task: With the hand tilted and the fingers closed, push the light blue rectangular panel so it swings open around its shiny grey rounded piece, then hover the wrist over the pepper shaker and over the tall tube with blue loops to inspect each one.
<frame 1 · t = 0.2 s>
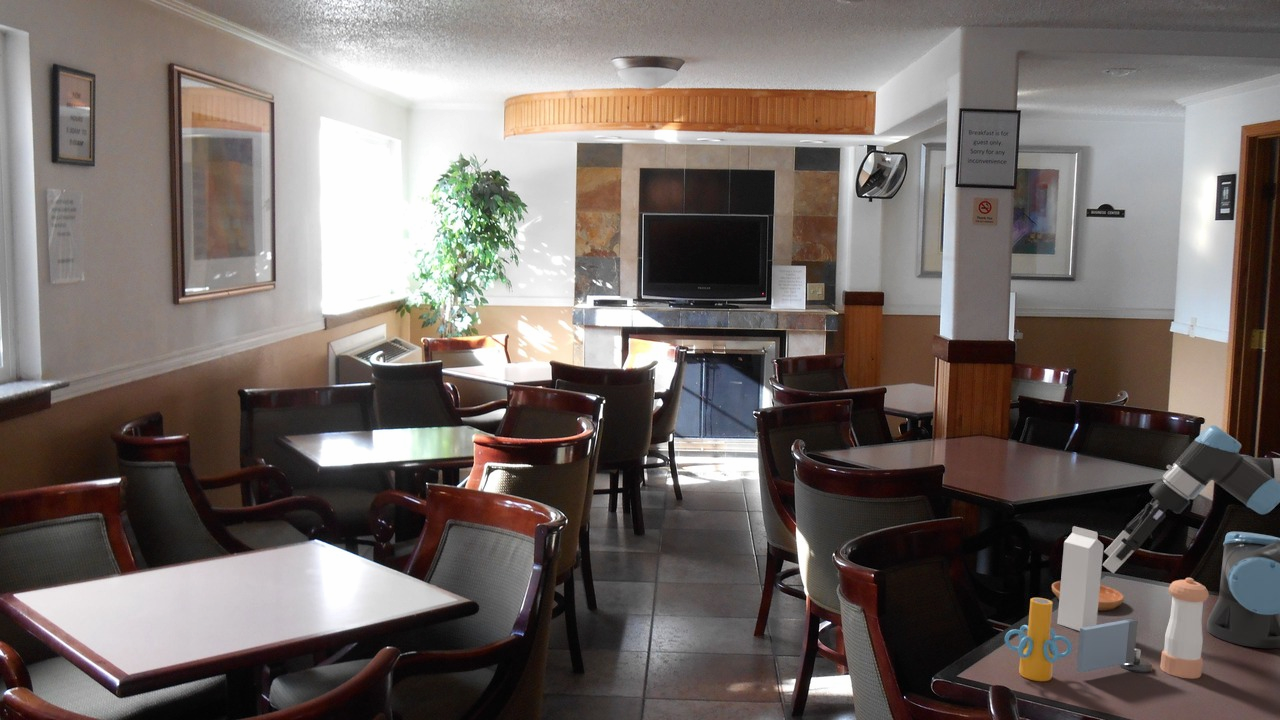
hand: (1108, 562, 231), 16 cm above the table, tool tilted 35°, fingers open, 13 cm apart
light blue rectangular panel: (1107, 645, 208), point 6 cm above the table, hinge at 0.0°
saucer: (1086, 603, 253), on the table
shiny grey rounded piece: (1135, 666, 212), on the table
pepper shaker: (1180, 672, 211), on the table
milk: (1076, 626, 236), on the table
tube with blue loops: (1035, 676, 205), on the table
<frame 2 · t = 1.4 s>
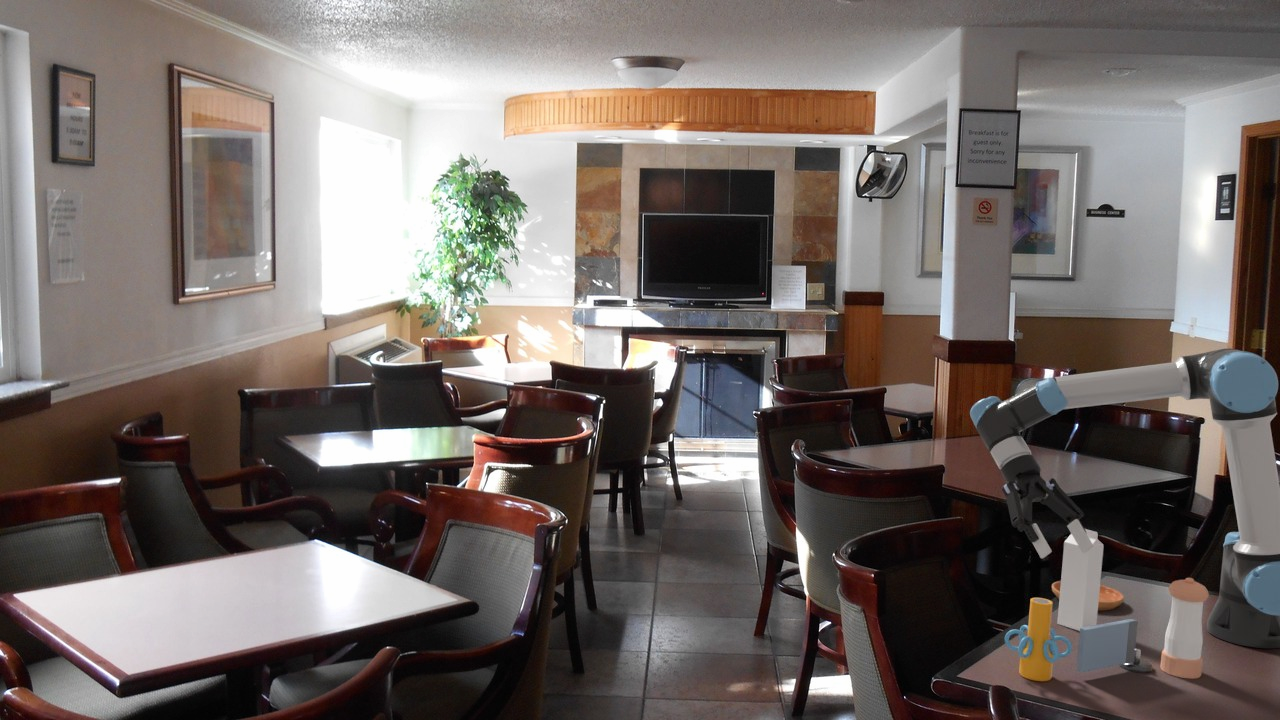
hand: (1067, 552, 215), 22 cm above the table, tool tilted 45°, fingers open, 11 cm apart
nothing on the table moved.
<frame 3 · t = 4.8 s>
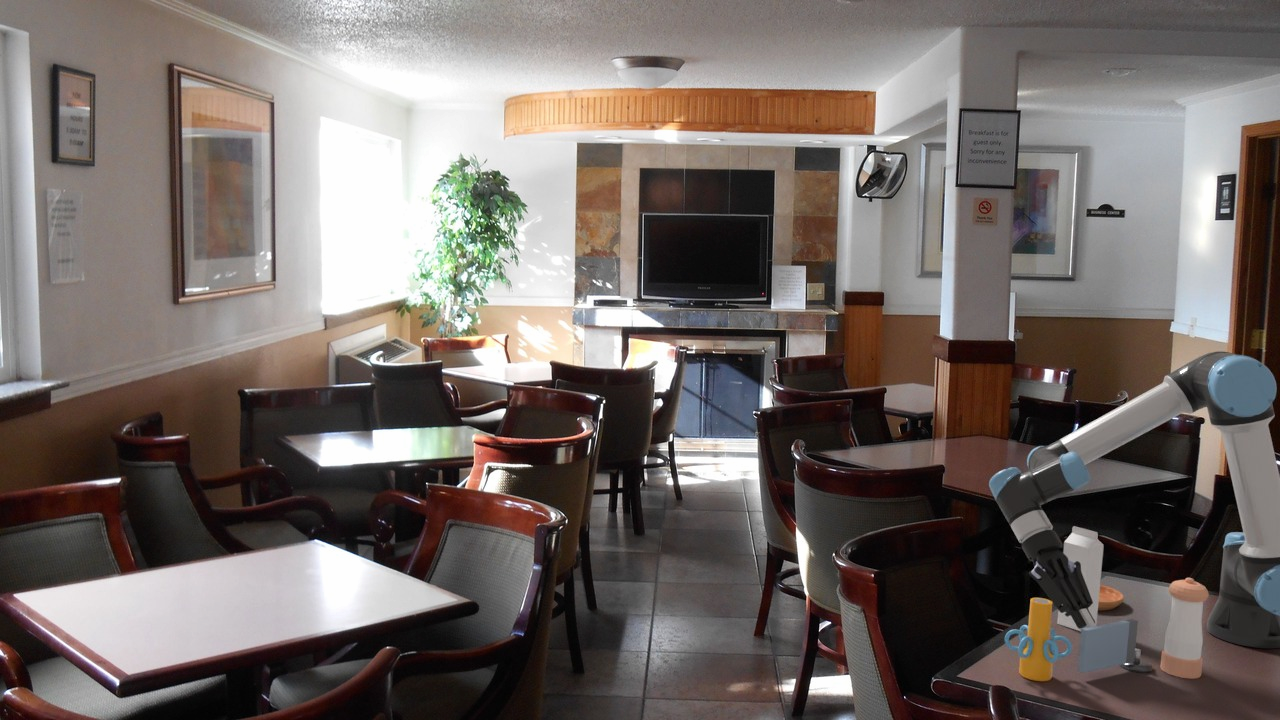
hand: (1096, 641, 208), 6 cm above the table, tool tilted 45°, fingers closed
light blue rectangular panel: (1108, 645, 207), point 6 cm above the table, hinge at 1.1°, touching gripper
everything else where it was.
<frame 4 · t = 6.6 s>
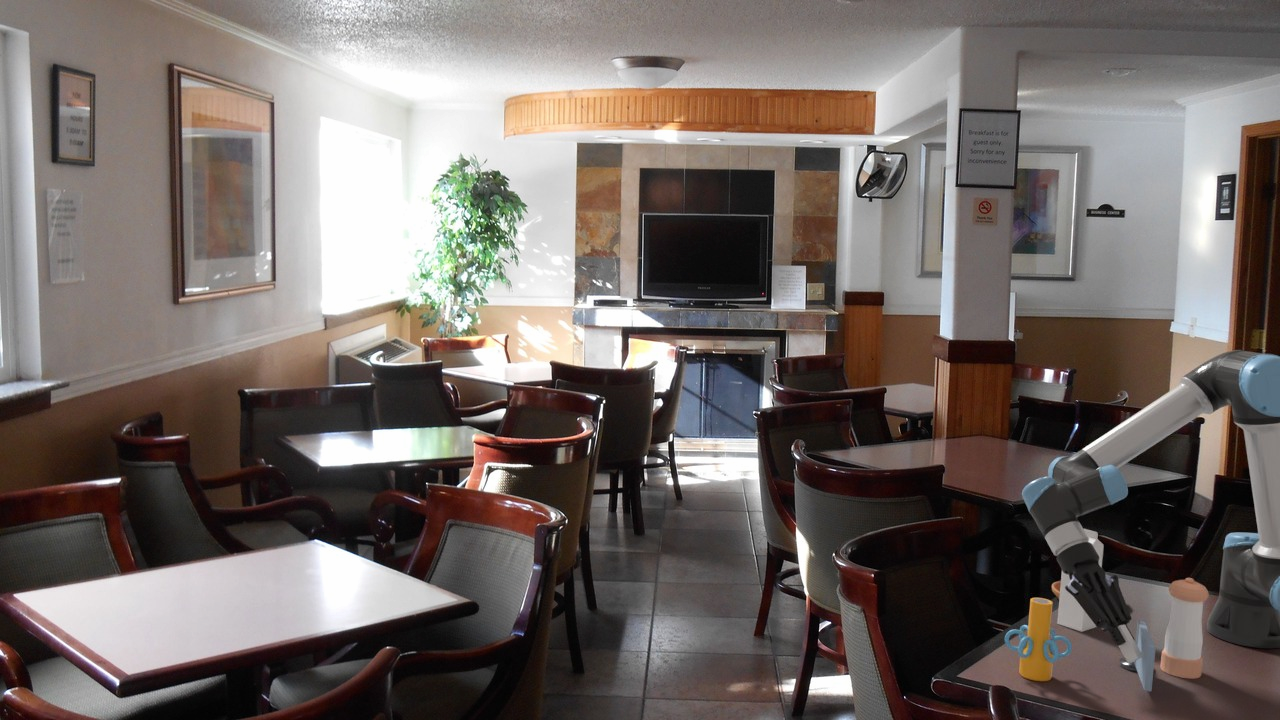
hand: (1135, 659, 200), 6 cm above the table, tool tilted 45°, fingers closed
light blue rectangular panel: (1144, 654, 203), point 6 cm above the table, hinge at 44.6°
everything else where it was.
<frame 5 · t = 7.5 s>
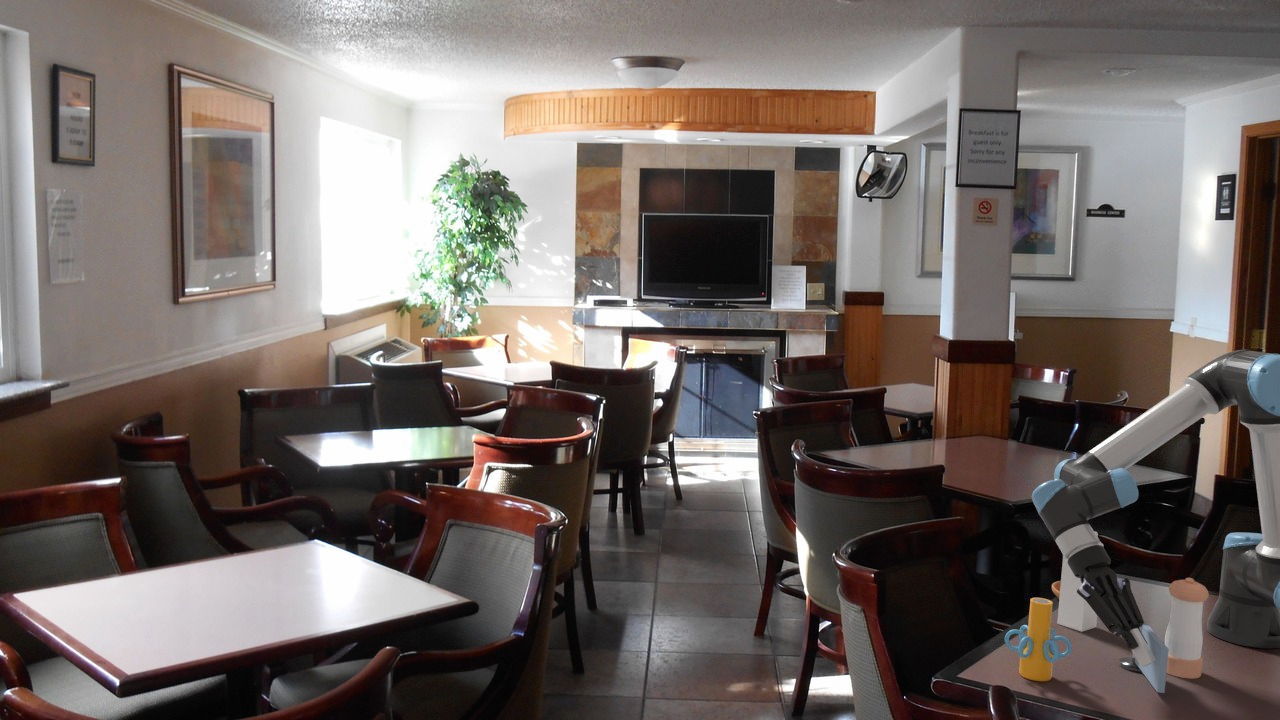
hand: (1148, 663, 198), 6 cm above the table, tool tilted 45°, fingers closed
light blue rectangular panel: (1151, 655, 203), point 6 cm above the table, hinge at 52.3°, touching gripper
everything else where it was.
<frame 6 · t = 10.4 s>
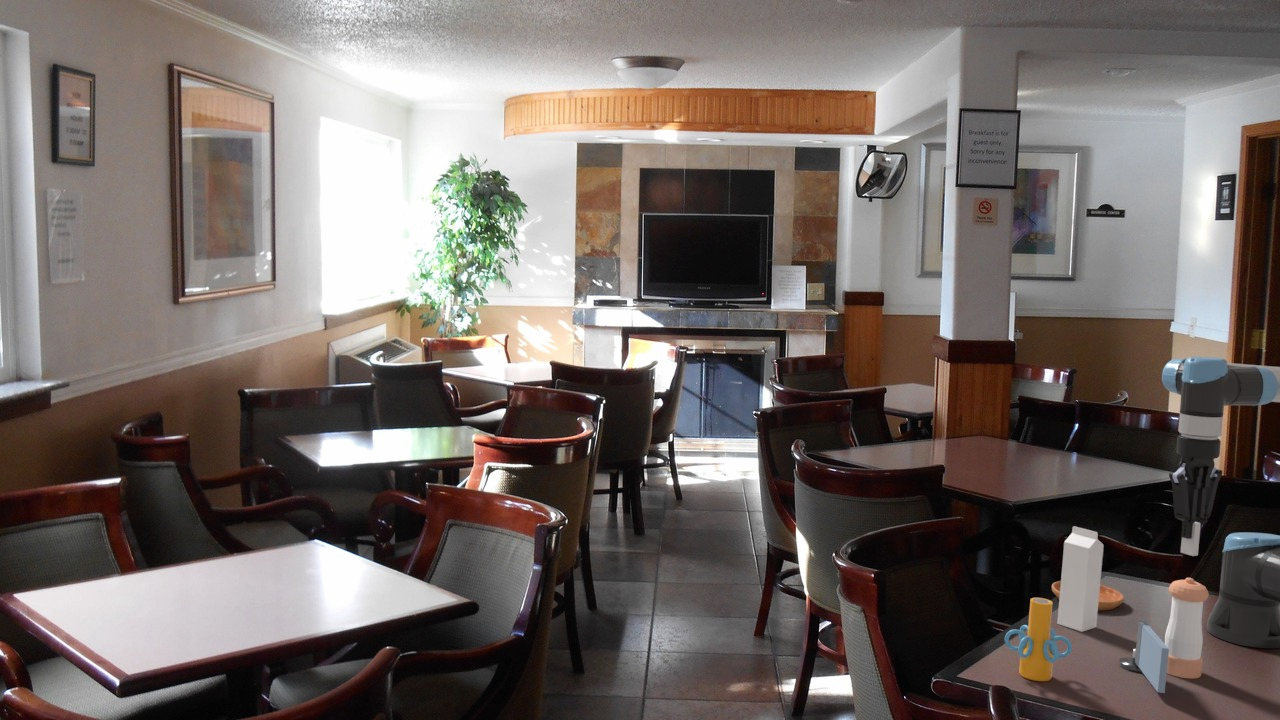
hand: (1189, 553, 209), 24 cm above the table, tool pointing down, fingers closed
light blue rectangular panel: (1151, 655, 203), point 6 cm above the table, hinge at 52.5°
everything else where it was.
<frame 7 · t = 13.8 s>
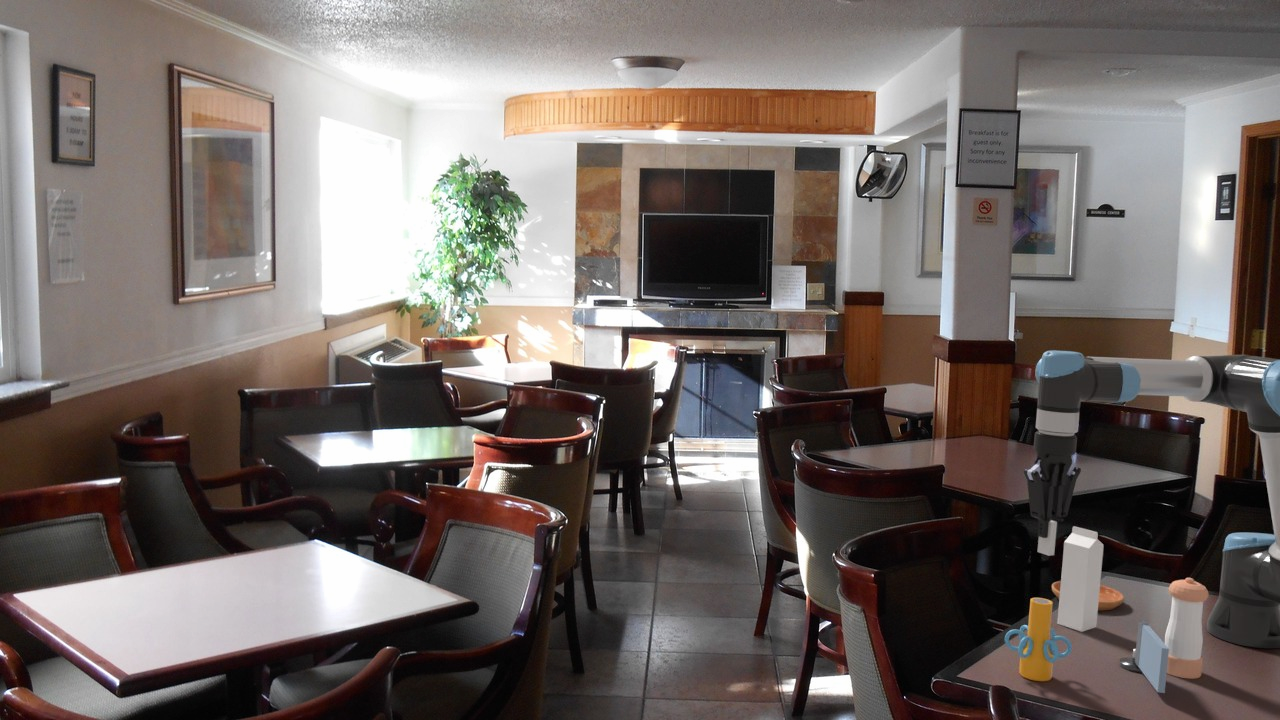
hand: (1045, 553, 203), 24 cm above the table, tool pointing down, fingers closed
nothing on the table moved.
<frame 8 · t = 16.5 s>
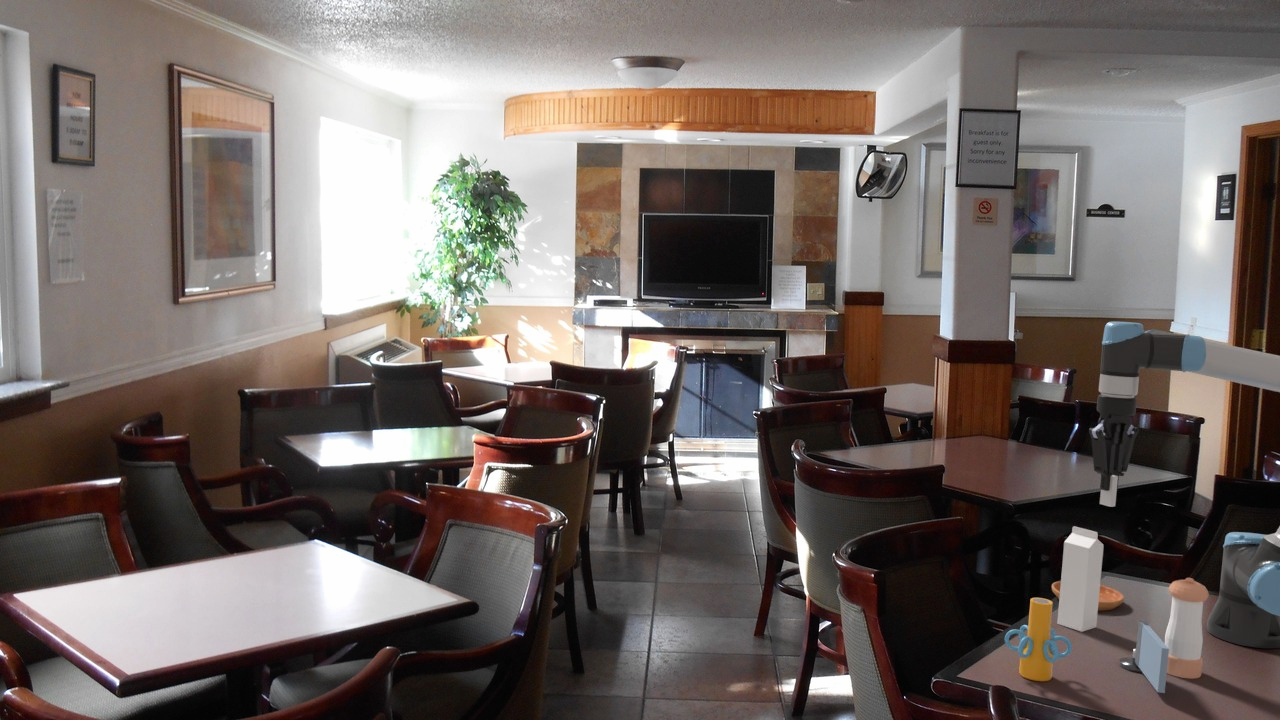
hand: (1107, 505, 225), 29 cm above the table, tool pointing down, fingers closed
nothing on the table moved.
at the end: light blue rectangular panel at +52° (first picture: +0°); pepper shaker moved 0.2 cm from its start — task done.
